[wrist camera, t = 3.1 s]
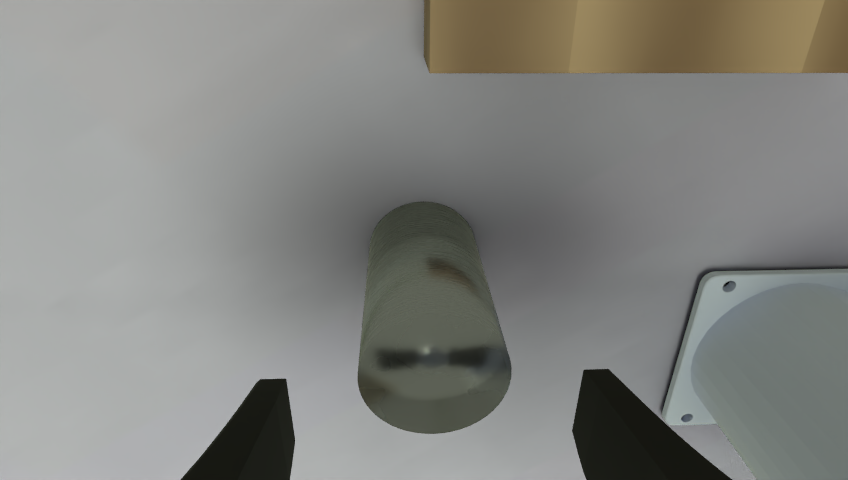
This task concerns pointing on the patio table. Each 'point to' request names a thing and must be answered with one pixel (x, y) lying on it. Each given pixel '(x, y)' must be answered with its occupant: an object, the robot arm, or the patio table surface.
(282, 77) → the patio table surface
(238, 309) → the patio table surface
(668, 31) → the socket block
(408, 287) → the grey rounded piece
